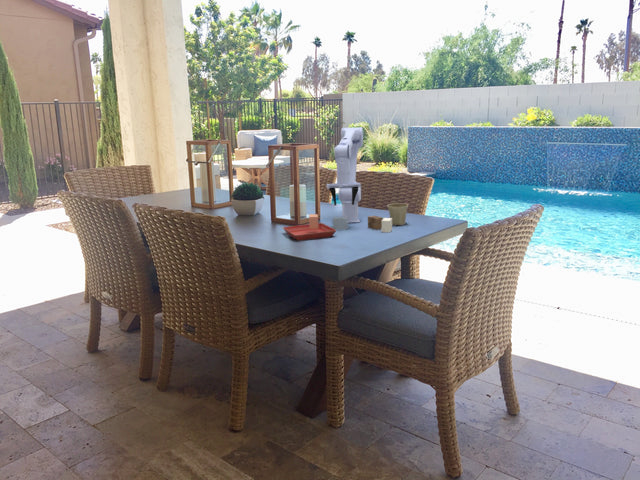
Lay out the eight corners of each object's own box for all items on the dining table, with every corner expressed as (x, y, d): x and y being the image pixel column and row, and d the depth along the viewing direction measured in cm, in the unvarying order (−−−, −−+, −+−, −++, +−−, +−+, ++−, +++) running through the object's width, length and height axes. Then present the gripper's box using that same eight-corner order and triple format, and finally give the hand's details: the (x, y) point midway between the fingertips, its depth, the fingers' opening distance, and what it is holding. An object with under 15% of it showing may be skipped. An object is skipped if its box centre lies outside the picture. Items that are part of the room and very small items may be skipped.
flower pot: (384, 225, 233) (383, 206, 231) (391, 221, 241) (391, 202, 239) (404, 227, 229) (404, 207, 227) (411, 222, 237) (411, 203, 235)
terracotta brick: (309, 226, 224) (309, 214, 223) (317, 225, 225) (317, 214, 223) (309, 229, 219) (309, 217, 217) (318, 228, 219) (318, 216, 218)
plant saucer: (282, 234, 226) (282, 226, 225) (321, 229, 232) (321, 222, 231) (295, 243, 209) (294, 235, 209) (337, 238, 215) (337, 230, 215)
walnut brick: (367, 227, 230) (367, 216, 229) (374, 226, 232) (374, 215, 231) (376, 230, 225) (376, 218, 224) (382, 228, 227) (382, 217, 226)
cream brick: (384, 229, 226) (384, 217, 225) (392, 229, 225) (392, 218, 224) (381, 232, 221) (381, 220, 220) (389, 232, 220) (389, 220, 219)
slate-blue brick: (333, 229, 229) (332, 218, 228) (334, 228, 232) (333, 217, 231) (347, 229, 228) (346, 218, 227) (347, 228, 231) (347, 216, 230)
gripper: (327, 174, 221) (328, 206, 224) (361, 173, 222) (361, 205, 225) (326, 173, 228) (327, 204, 231) (359, 172, 229) (359, 203, 232)
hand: (344, 204), depth 228 cm, fingers open, 7 cm apart
